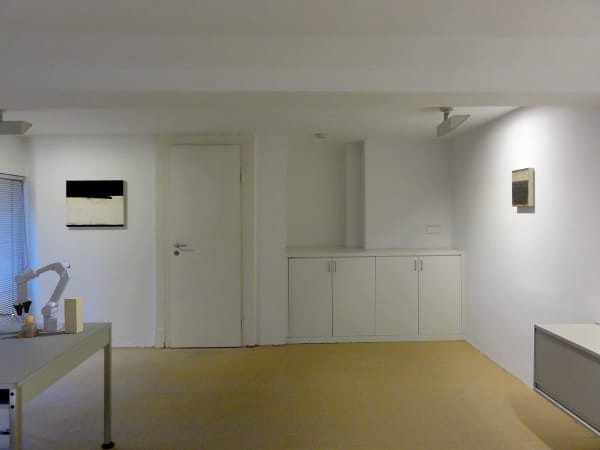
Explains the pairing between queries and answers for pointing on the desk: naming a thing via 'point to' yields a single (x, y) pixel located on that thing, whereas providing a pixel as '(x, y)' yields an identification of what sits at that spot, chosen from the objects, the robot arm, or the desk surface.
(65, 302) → the tan wooden block
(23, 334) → the brown square box
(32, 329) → the slate block
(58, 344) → the desk surface
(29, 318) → the orange capsule
